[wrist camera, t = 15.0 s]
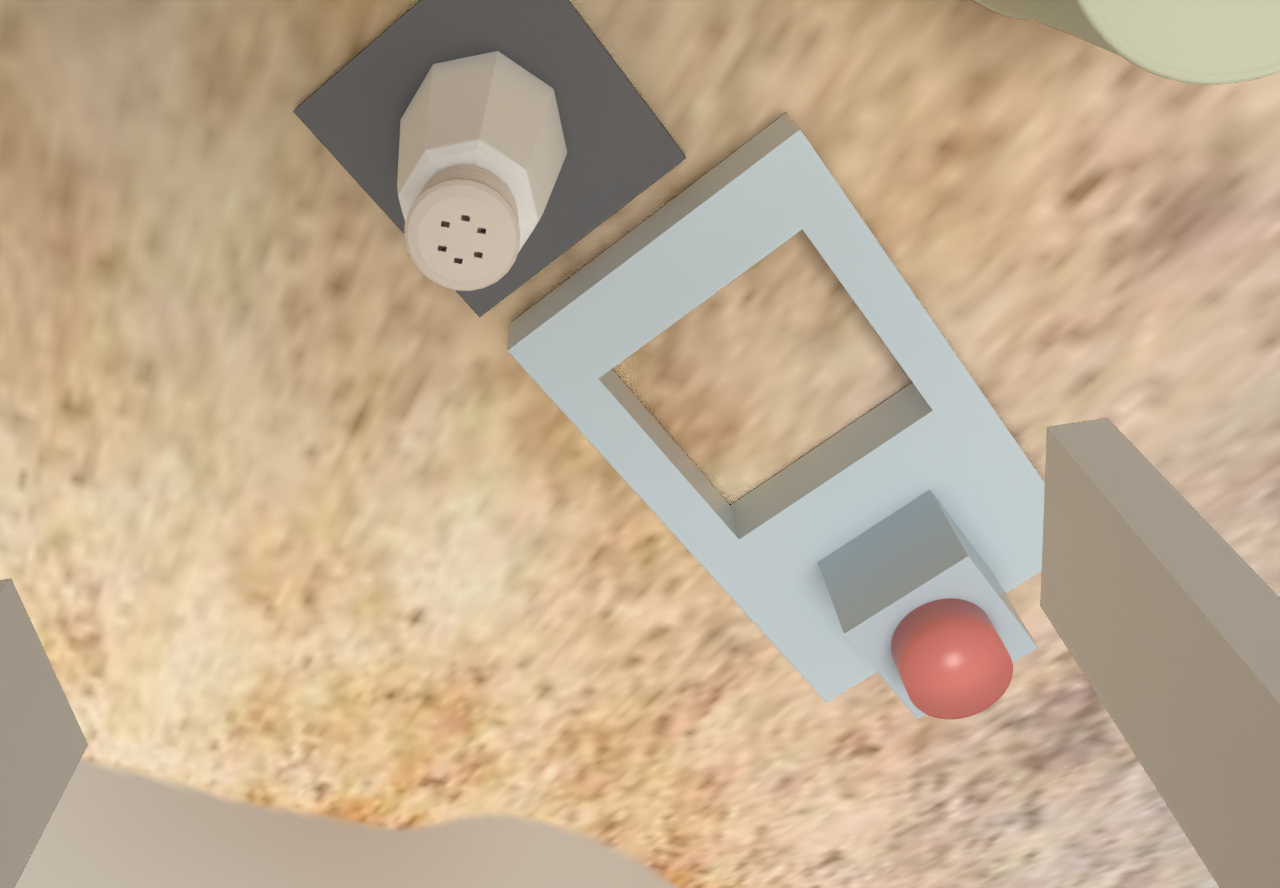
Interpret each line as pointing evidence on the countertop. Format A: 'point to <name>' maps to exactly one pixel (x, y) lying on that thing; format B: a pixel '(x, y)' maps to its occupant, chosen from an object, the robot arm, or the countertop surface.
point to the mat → (544, 46)
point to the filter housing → (830, 473)
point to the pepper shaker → (476, 167)
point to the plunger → (951, 659)
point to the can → (1169, 33)
